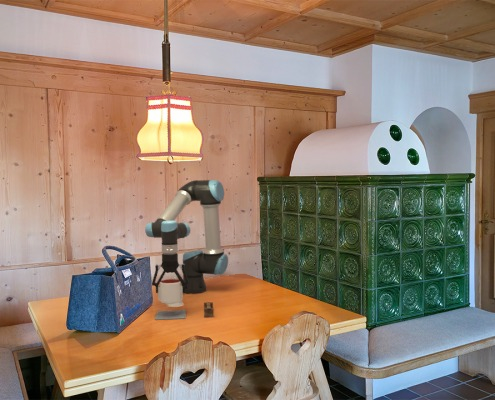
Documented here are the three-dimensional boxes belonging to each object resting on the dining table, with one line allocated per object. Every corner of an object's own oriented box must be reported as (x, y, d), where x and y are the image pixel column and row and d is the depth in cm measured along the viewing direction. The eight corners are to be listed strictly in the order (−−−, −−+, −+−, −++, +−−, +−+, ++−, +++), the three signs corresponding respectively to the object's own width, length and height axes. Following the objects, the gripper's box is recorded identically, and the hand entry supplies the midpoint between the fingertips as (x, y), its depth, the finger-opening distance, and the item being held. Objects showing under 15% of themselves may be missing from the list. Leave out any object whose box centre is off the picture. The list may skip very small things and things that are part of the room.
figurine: (169, 307, 244) (168, 278, 243) (164, 303, 252) (164, 275, 251) (185, 305, 247) (185, 276, 246) (181, 301, 255) (180, 273, 255)
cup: (155, 302, 229) (155, 281, 229) (172, 298, 236) (172, 278, 236) (168, 305, 222) (168, 284, 222) (185, 301, 230) (185, 281, 229)
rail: (204, 310, 237) (203, 302, 237) (212, 310, 238) (212, 302, 238) (204, 317, 225) (204, 309, 225) (213, 317, 226) (213, 308, 226)
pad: (157, 311, 236) (157, 311, 236) (186, 310, 238) (186, 309, 238) (155, 320, 222) (154, 319, 222) (185, 318, 224) (185, 318, 224)
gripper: (144, 254, 224) (145, 302, 225) (193, 253, 226) (194, 300, 227) (146, 252, 231) (147, 298, 232) (193, 251, 233) (194, 296, 234)
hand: (170, 299), depth 229 cm, fingers closed on cup, 10 cm apart
